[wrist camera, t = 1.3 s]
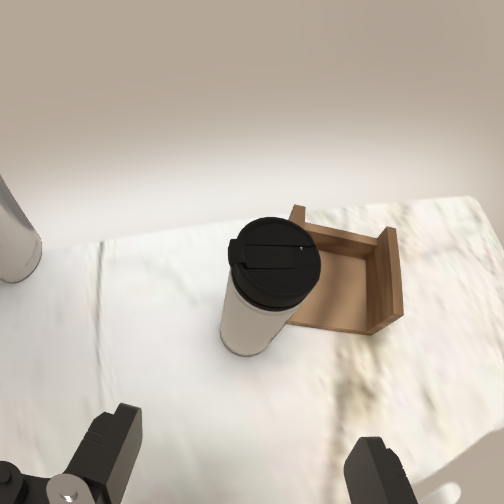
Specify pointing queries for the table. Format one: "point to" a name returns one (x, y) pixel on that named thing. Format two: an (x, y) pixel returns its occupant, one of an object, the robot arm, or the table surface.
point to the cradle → (352, 280)
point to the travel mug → (266, 282)
